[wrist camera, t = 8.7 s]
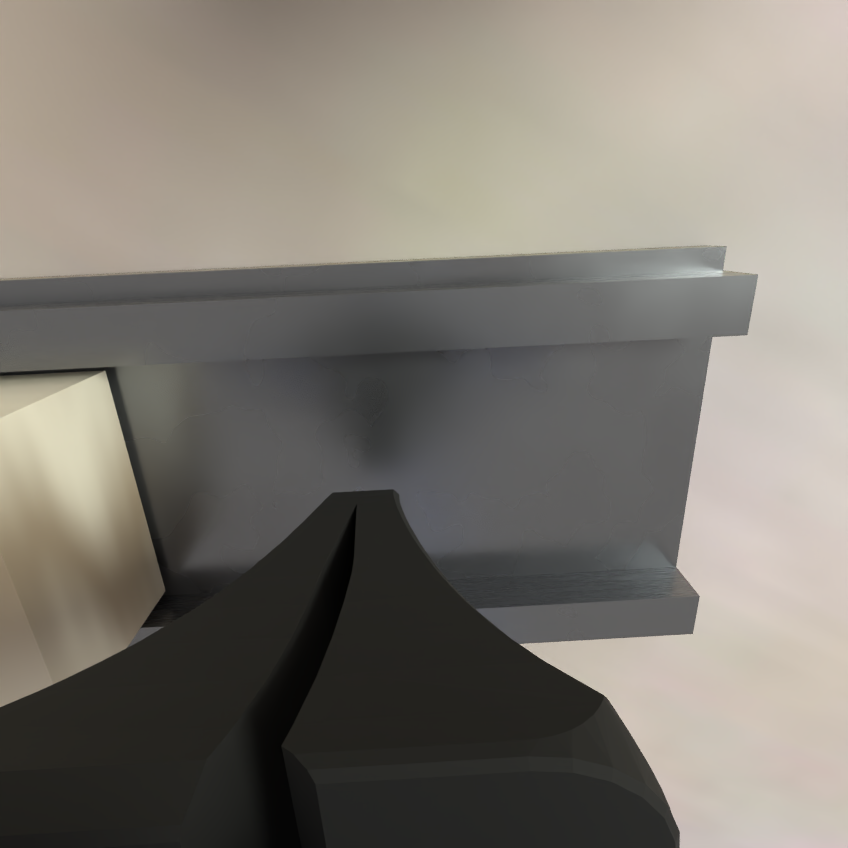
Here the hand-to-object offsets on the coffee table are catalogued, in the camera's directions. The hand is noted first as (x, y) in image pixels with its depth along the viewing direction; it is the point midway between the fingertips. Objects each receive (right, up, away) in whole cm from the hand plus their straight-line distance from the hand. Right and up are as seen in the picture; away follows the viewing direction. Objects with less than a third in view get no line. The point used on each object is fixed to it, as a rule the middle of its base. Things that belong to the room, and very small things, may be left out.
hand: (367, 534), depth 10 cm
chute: (-3, +1, +3) cm, 5 cm away
